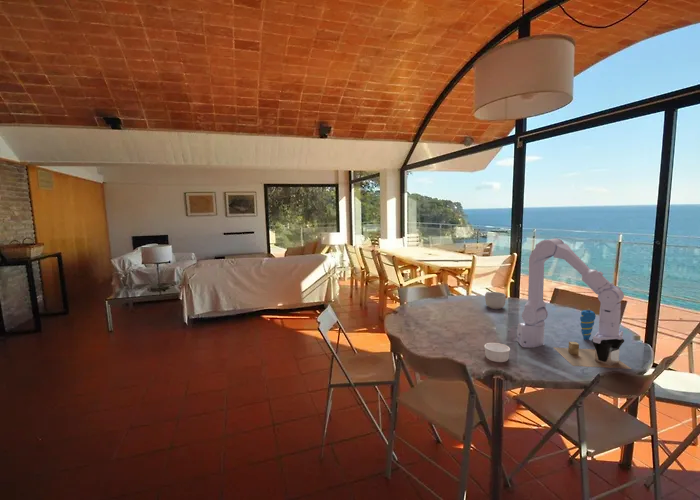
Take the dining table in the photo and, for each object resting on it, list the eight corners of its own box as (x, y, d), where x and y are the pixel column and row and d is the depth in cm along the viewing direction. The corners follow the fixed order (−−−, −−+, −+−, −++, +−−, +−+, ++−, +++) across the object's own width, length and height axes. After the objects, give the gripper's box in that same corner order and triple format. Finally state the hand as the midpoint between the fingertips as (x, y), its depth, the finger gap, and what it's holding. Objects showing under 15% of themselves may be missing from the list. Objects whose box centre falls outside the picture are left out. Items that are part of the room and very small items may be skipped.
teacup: (508, 310, 187) (509, 296, 186) (489, 310, 187) (489, 296, 186) (498, 303, 201) (498, 290, 200) (479, 303, 201) (480, 290, 200)
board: (572, 369, 116) (573, 354, 116) (552, 351, 132) (553, 337, 131) (631, 373, 113) (632, 357, 113) (604, 353, 129) (605, 339, 128)
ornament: (579, 339, 144) (581, 304, 142) (594, 342, 140) (596, 306, 139) (577, 343, 140) (580, 307, 138) (593, 345, 136) (595, 309, 135)
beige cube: (610, 365, 116) (611, 350, 115) (594, 360, 120) (595, 345, 119) (618, 362, 118) (619, 348, 117) (602, 357, 122) (603, 343, 122)
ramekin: (481, 359, 126) (481, 348, 125) (486, 351, 133) (487, 340, 133) (507, 365, 121) (507, 353, 120) (511, 356, 128) (511, 345, 128)
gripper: (610, 328, 111) (607, 368, 112) (634, 321, 117) (631, 359, 118) (587, 322, 117) (585, 359, 118) (611, 316, 123) (608, 351, 125)
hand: (606, 359), depth 119 cm, fingers closed on beige cube, 5 cm apart
